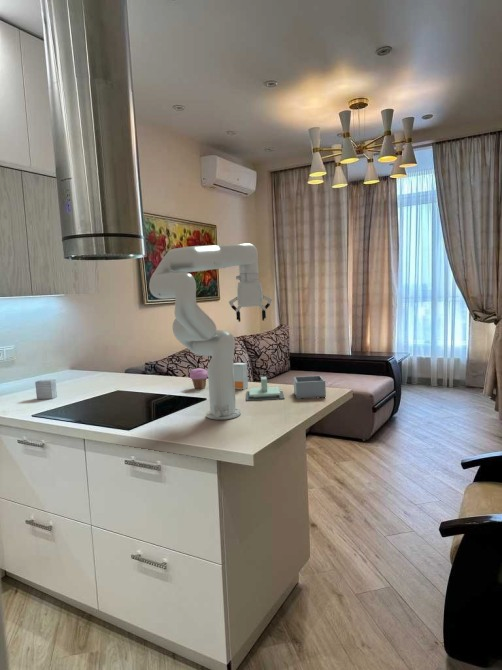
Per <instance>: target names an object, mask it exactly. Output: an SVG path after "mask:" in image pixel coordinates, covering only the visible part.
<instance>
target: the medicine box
mask: <svg viewBox="0 0 502 670" xmlns="http://www.w3.org/2000/svg"><path fill="white" fill-rule="evenodd" d="M34 385H35V393H36V400H53V399H55V398H58V391H57V381H56V379H53V378H52V379H39V380H37V381H35V382H34Z"/></svg>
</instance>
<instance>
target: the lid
mask: <svg viewBox="0 0 502 670" xmlns="http://www.w3.org/2000/svg"><path fill="white" fill-rule="evenodd" d="M260 383H261V384H260V385H261V387H249V390H248V391H249V397H252V396H253V398H260V397H277V395H280V390H281V389H280V388H279V386H268V378H267V376H260Z"/></svg>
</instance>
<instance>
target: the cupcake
mask: <svg viewBox="0 0 502 670" xmlns="http://www.w3.org/2000/svg"><path fill="white" fill-rule="evenodd" d="M189 378H190V379H191V381H192V385H193V388H194V389H195V390H203V389H205V388H206V386H207V380H208V370H206V369H205V368H200V367H197V368H194V369H191V371H190V372H189Z"/></svg>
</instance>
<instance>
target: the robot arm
mask: <svg viewBox="0 0 502 670" xmlns="http://www.w3.org/2000/svg"><path fill="white" fill-rule="evenodd" d="M258 252H259V251H258V249H257V247H256V246H255V245H254V244H252V243H240V244H239V243H238V244H212V245H211V244H210V245H209V244H208V245H194V246H184V247H183V246H182V247H178V248H177V247H176V248H172V249H171V250H168V251H167V252H166V254H165V255H164V256H163V258H162V259H161V261H160V262H159V264H158V265H157V267H156V269H155V270H154V271H153V273H152V275H151V277H150V279H149V284H148V285H149V287H148V288H149V291H150V294H151V295H152V296H153V297H155V298H157V299H161V300H162V299H163V300H164V299H175V305H174V318H175V319H174V320H173V322H172V333H173V335H174V337H175V338H176V340H177V341H178V342H179V343H181V344H182V345H183V346H184V347H185V348H186V349H187V350H189V351H190V352H191V353H193V354H194V355H197V356H202V357H204V356H205V357H211V358H210V361H209V363H208V366H207V373H208V377H207V380H208V392H209V395H208V396H209V397H208V398H209V410H208V411H207V412H206V413H205V414H206V418H207V419H211V420H217V421H218V420H223V421H224V420H230V419H235V418H237V417H239V416H240V415H241V410H240V409H238V408H237V406H236V389H235V384H234V367H233V364H234V355H235V348H236V340H235V338H234V335H233V334H232V333H231V331H227V330H222V329H217V325H216V323H215V321H214V320H213V319H212V318H211V317H210V316H209V315H208V314H207V313H206V312H205V311H204V310H203V309H202V308H201V307H200V306H199V304H198V303H197V282H196V280H195V277H194V276H193V275H192V274H191V273H193V272H194V273H195V272H202V271H210V270H217V269H218V270H220V269H226V268H230V267H236V266H238V267H239V268H238V271H239V275H236V276H235V279H236V280H238V281H239V282H237V287H236V288H237V290H236V291H237V294H236V295H237V296H236V297H234V298H233V299H231V300H229V301H228V304H229V306H230V307H231V308H232V310H234V311H235V314H236V320H237V321H238V323H240V322H241V311H240V309H242V308H249V307H250V308H251V307H260V308H261V309H262V310H261V321H265V319H267V318H266V317H267V316H266V315H267V314H266V310H268V308H269V307H270V306H271V303H272V302H273V301H272V300H273V299H272V298H270V297H267V295H263V287H262V282H261V280H260V281H259V261H258V260H259V259H258V256H259V253H258ZM265 300H266V301H267V303H266V304H265V305H264V301H265ZM235 302H237V307H236V306H235V304H234V303H235Z"/></svg>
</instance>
